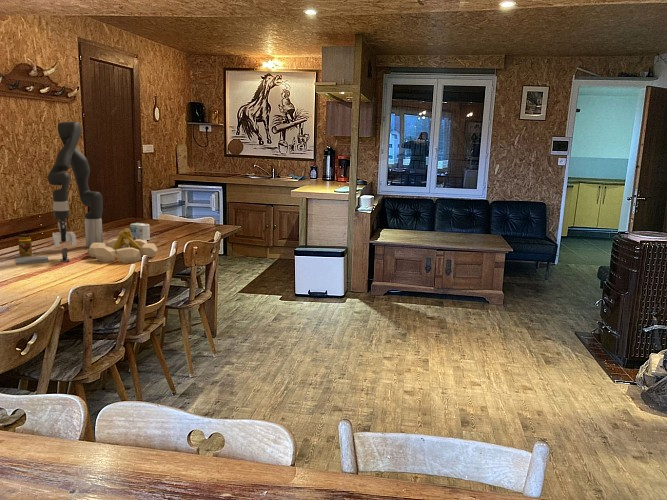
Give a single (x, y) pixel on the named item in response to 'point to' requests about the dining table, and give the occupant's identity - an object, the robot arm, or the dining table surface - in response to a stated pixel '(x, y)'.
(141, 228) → the light bulb box
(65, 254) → the peg stand
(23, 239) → the condiment
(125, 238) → the campfire
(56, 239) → the c link
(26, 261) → the mat
